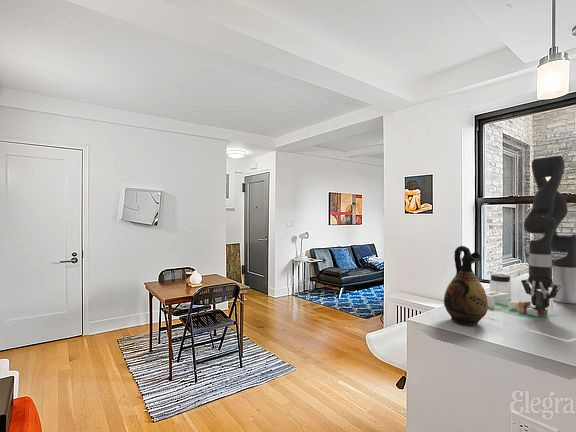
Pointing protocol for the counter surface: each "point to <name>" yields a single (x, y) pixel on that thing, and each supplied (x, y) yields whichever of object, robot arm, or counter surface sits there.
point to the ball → (514, 305)
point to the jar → (500, 284)
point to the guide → (533, 312)
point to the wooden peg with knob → (538, 304)
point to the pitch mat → (517, 312)
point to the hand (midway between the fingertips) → (540, 306)
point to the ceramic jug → (465, 291)
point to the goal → (497, 298)
